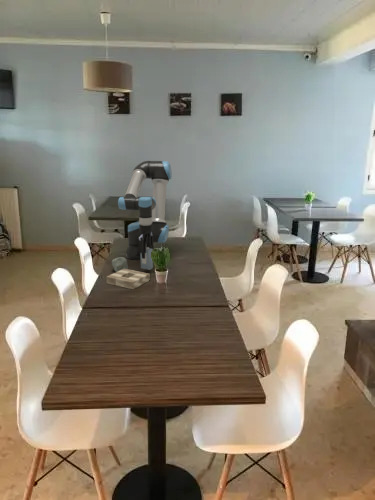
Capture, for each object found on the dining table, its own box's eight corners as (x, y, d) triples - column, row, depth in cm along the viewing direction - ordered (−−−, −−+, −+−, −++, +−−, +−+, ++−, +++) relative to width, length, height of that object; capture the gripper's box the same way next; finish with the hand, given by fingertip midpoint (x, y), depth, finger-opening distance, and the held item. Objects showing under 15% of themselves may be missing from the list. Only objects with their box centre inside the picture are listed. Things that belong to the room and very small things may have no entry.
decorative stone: (127, 274, 246) (132, 259, 249) (109, 269, 243) (114, 253, 247) (124, 278, 258) (128, 263, 261) (107, 273, 255) (111, 258, 259)
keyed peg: (144, 266, 253) (144, 246, 249) (152, 267, 250) (152, 247, 246) (140, 268, 250) (140, 247, 246) (149, 269, 247) (148, 249, 243)
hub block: (124, 275, 246) (124, 268, 245) (149, 280, 237) (149, 273, 236) (106, 283, 232) (106, 276, 231) (133, 289, 224) (132, 282, 223)
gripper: (148, 220, 251) (149, 257, 258) (131, 226, 236) (133, 265, 243) (159, 221, 247) (159, 259, 254) (142, 228, 233) (143, 267, 240)
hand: (146, 262), depth 249 cm, fingers closed on keyed peg, 4 cm apart
